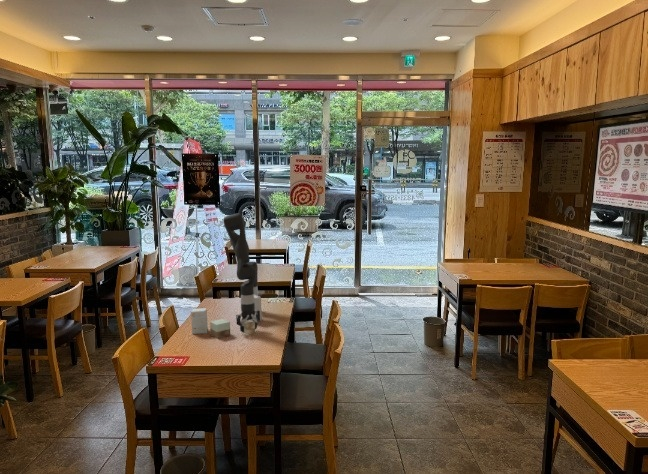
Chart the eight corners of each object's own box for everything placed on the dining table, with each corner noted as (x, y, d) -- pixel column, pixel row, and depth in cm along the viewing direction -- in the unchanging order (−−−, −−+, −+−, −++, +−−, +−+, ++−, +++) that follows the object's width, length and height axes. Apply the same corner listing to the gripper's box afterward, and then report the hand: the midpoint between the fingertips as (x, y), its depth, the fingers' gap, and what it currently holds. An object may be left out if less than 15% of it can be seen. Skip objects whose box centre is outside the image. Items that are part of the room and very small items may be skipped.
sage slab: (223, 325, 257) (223, 318, 257) (230, 328, 251) (229, 321, 251) (210, 328, 252) (210, 321, 252) (216, 332, 246) (216, 324, 246)
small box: (207, 329, 262) (206, 307, 260) (206, 333, 256) (205, 310, 254) (193, 330, 260) (192, 308, 259) (192, 334, 254) (190, 311, 253)
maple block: (250, 330, 259) (250, 320, 258) (255, 332, 255) (254, 322, 254) (242, 332, 256) (242, 322, 255) (247, 334, 252) (246, 324, 251)
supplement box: (262, 320, 277) (261, 296, 275) (249, 323, 271) (248, 299, 269) (255, 317, 284) (254, 294, 282) (242, 320, 278) (241, 296, 277)
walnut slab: (223, 332, 258) (223, 325, 257) (230, 335, 252) (230, 328, 251) (210, 335, 253) (210, 328, 252) (217, 339, 247) (216, 332, 246)
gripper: (255, 298, 261) (256, 326, 263) (232, 303, 252) (234, 331, 254) (262, 300, 255) (263, 329, 257) (239, 305, 246) (241, 335, 248)
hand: (248, 330), depth 255 cm, fingers open, 7 cm apart
